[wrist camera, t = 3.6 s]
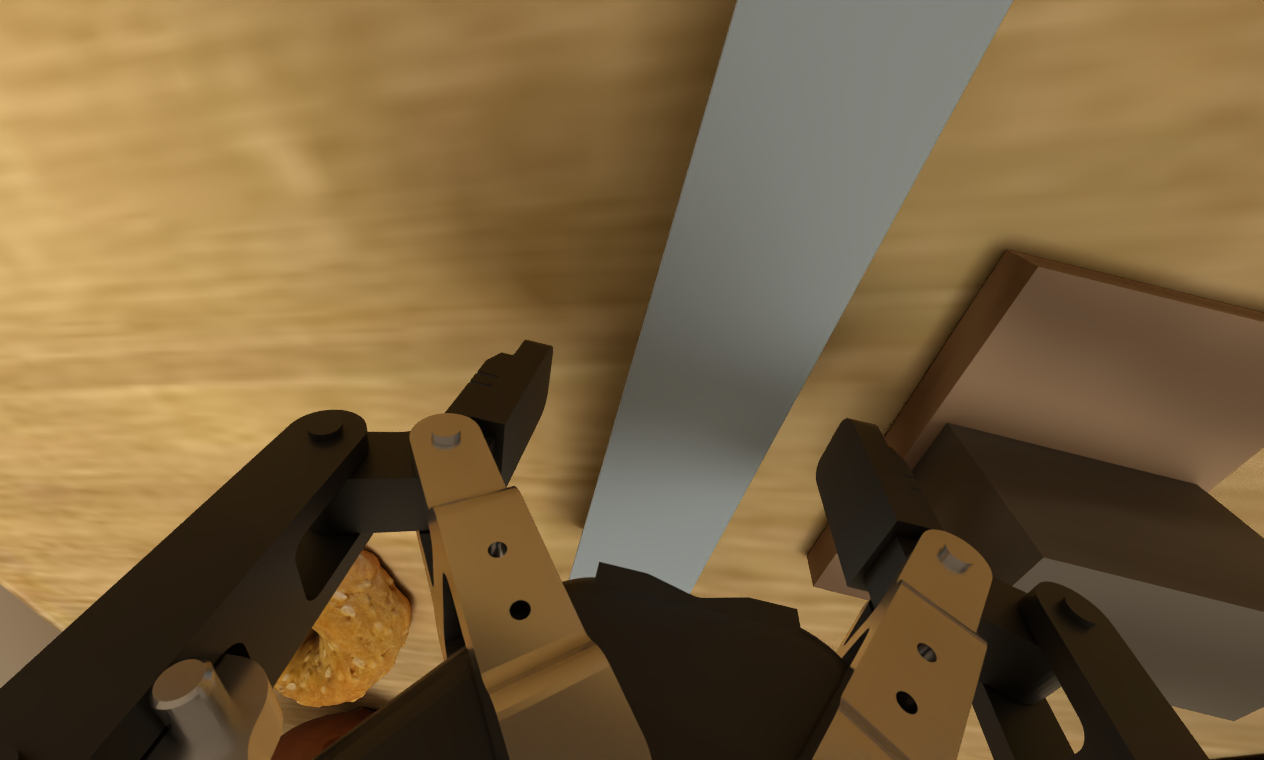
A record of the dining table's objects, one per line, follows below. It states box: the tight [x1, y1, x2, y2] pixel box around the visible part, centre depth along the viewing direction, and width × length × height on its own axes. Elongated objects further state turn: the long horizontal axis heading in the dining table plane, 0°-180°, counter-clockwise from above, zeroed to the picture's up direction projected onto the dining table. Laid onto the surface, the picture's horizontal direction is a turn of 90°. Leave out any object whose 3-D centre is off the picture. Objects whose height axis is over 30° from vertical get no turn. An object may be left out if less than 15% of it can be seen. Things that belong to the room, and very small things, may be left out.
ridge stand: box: [807, 250, 1264, 721], centre depth 14 cm, size 14×9×6 cm, turn 168°
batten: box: [569, 0, 1013, 594], centre depth 14 cm, size 22×4×5 cm, turn 166°
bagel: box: [274, 549, 411, 707], centre depth 26 cm, size 10×11×5 cm
